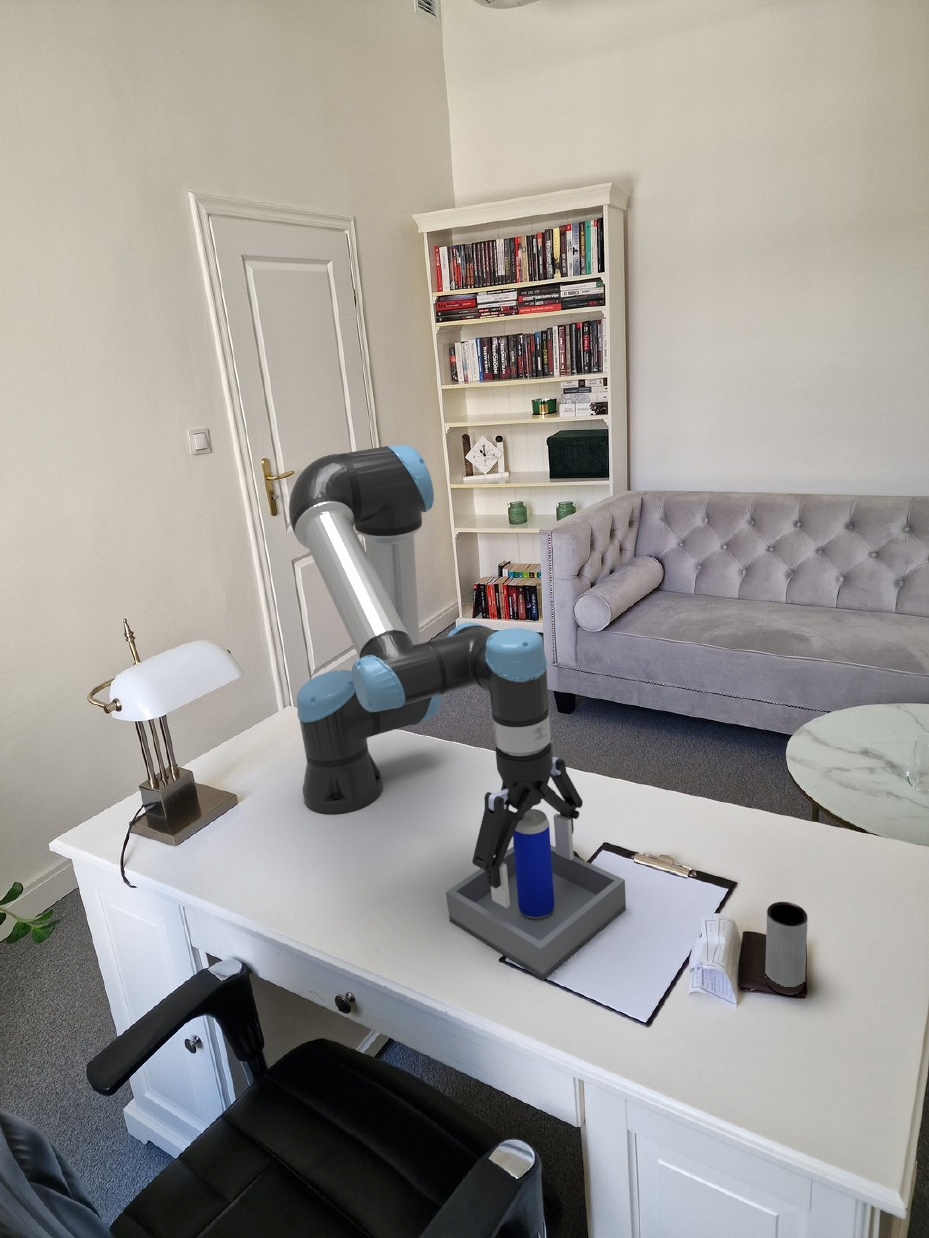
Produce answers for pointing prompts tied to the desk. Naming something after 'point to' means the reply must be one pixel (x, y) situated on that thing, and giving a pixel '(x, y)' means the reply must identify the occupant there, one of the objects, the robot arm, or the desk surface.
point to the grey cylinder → (786, 944)
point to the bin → (546, 942)
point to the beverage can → (534, 865)
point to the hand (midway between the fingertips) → (534, 878)
